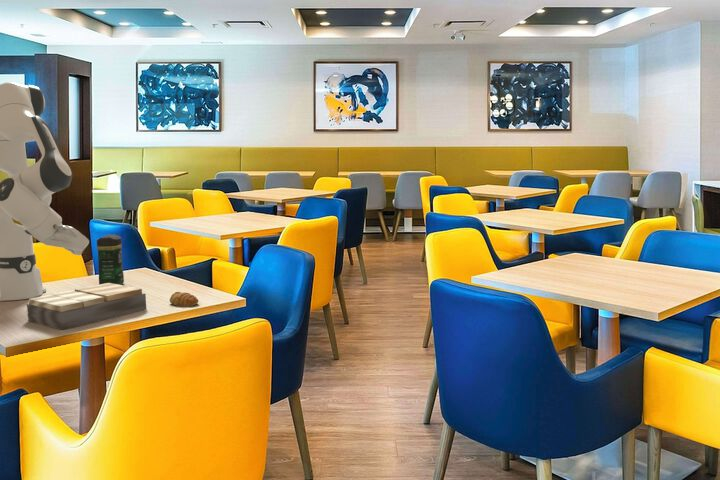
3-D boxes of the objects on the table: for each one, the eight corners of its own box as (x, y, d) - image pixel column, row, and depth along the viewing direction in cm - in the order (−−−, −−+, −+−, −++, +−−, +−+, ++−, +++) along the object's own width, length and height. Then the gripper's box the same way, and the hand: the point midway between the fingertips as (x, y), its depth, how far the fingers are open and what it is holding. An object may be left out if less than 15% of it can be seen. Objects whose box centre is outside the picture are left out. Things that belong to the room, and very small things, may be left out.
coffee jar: (119, 288, 247) (115, 236, 244) (96, 288, 246) (92, 237, 244) (127, 282, 256) (123, 232, 253) (105, 283, 256) (101, 233, 253)
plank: (75, 294, 214) (74, 289, 213) (109, 287, 223) (108, 282, 223) (107, 301, 204) (107, 295, 204) (142, 293, 213) (141, 288, 213)
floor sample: (28, 320, 203) (26, 299, 202) (111, 302, 225) (110, 282, 224) (62, 330, 192) (60, 306, 191) (146, 309, 214) (145, 288, 214)
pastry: (204, 304, 221) (203, 292, 221) (188, 308, 215) (188, 297, 215) (182, 300, 226) (181, 289, 225) (167, 305, 220) (166, 293, 220)
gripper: (73, 218, 192) (105, 247, 202) (33, 213, 204) (65, 241, 214) (59, 236, 190) (93, 265, 199) (19, 230, 201) (53, 258, 211)
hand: (78, 253), depth 206 cm, fingers closed
